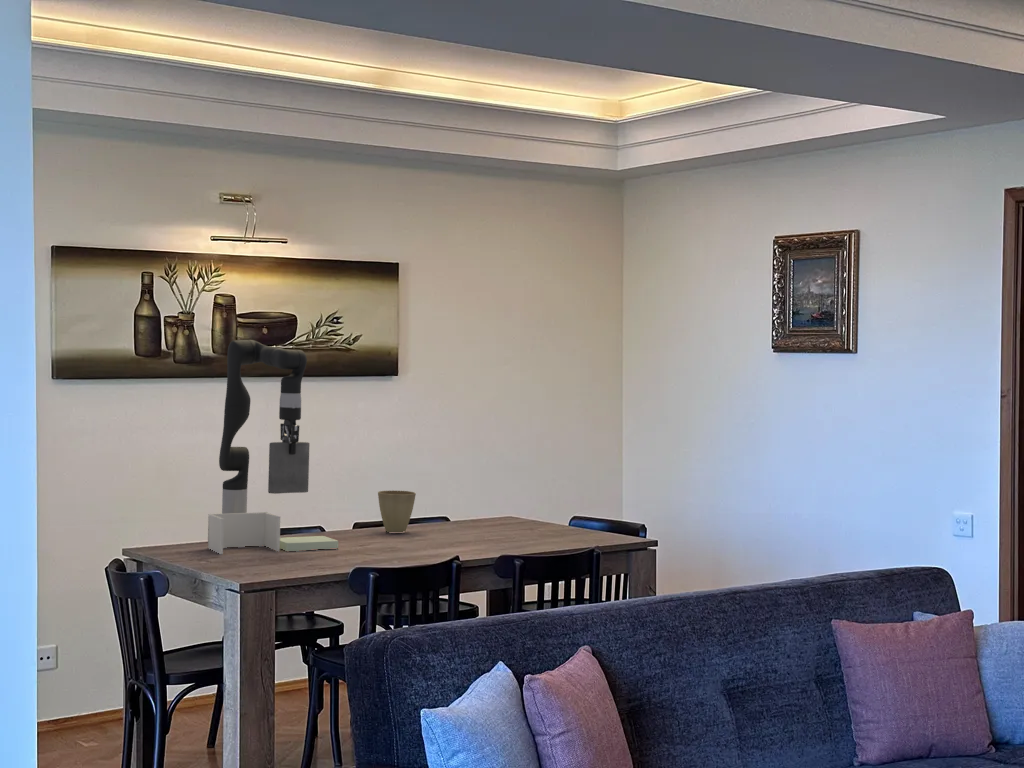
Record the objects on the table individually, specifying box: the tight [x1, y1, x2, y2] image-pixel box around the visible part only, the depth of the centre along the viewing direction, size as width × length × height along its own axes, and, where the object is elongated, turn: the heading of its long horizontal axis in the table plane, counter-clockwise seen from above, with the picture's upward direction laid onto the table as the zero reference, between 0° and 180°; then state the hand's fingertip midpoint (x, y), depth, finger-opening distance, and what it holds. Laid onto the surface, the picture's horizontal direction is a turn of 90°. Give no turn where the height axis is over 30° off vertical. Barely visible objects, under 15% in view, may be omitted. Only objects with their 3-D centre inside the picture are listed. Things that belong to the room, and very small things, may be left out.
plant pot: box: [377, 490, 417, 533], centre depth 485 cm, size 15×15×16 cm
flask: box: [267, 435, 310, 495], centre depth 433 cm, size 15×6×20 cm, turn 127°
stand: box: [280, 535, 339, 552], centre depth 437 cm, size 14×19×3 cm
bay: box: [207, 511, 281, 555], centre depth 428 cm, size 14×21×12 cm
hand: (289, 453), depth 433 cm, fingers closed on flask, 6 cm apart
